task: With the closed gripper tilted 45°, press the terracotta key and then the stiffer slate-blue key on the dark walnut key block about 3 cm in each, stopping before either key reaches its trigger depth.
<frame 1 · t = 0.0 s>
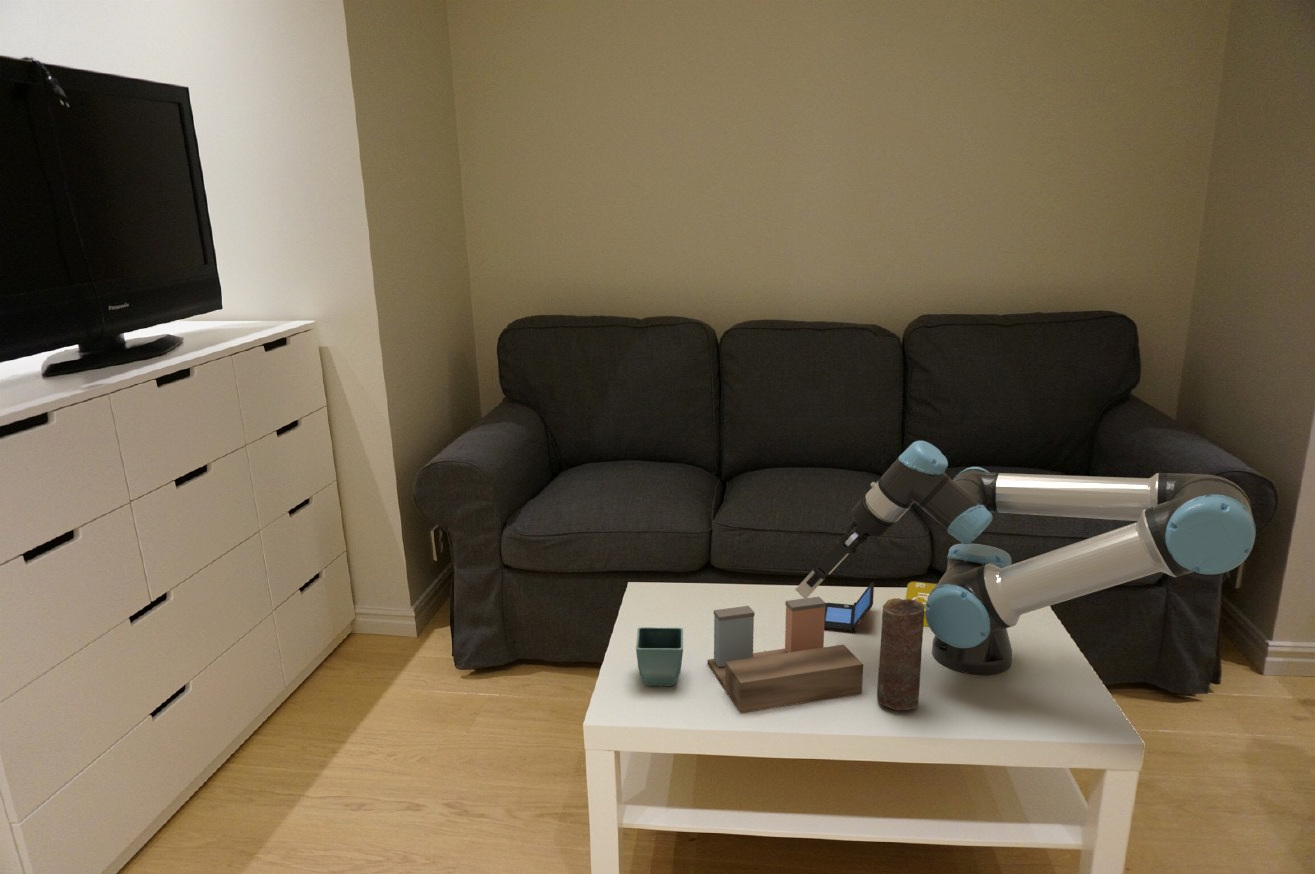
hand: (813, 581, 182), 15 cm above the table, tool tilted 35°, fingers open, 13 cm apart
element tile: (940, 616, 203), on the table
candle: (897, 706, 167), on the table
key terracotta: (804, 626, 183), point 7 cm above the table, slide at 0.0 cm
key block: (781, 677, 176), on the table
flower pot: (660, 681, 176), on the table
key slate: (733, 636, 179), point 7 cm above the table, slide at 0.0 cm
handheld game console: (847, 622, 200), on the table
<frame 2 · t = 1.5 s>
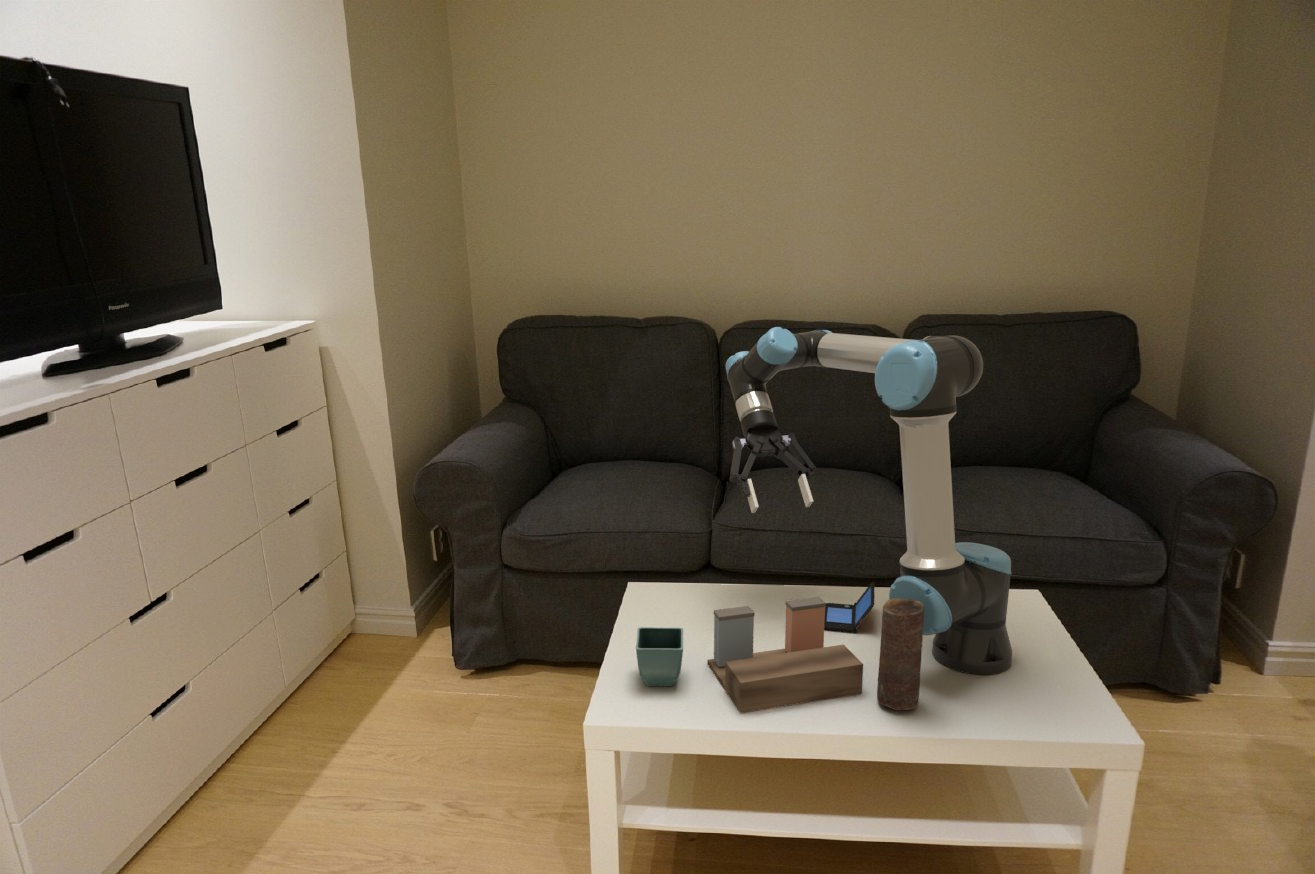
hand: (782, 507, 189), 27 cm above the table, tool tilted 45°, fingers open, 11 cm apart
nothing on the table moved.
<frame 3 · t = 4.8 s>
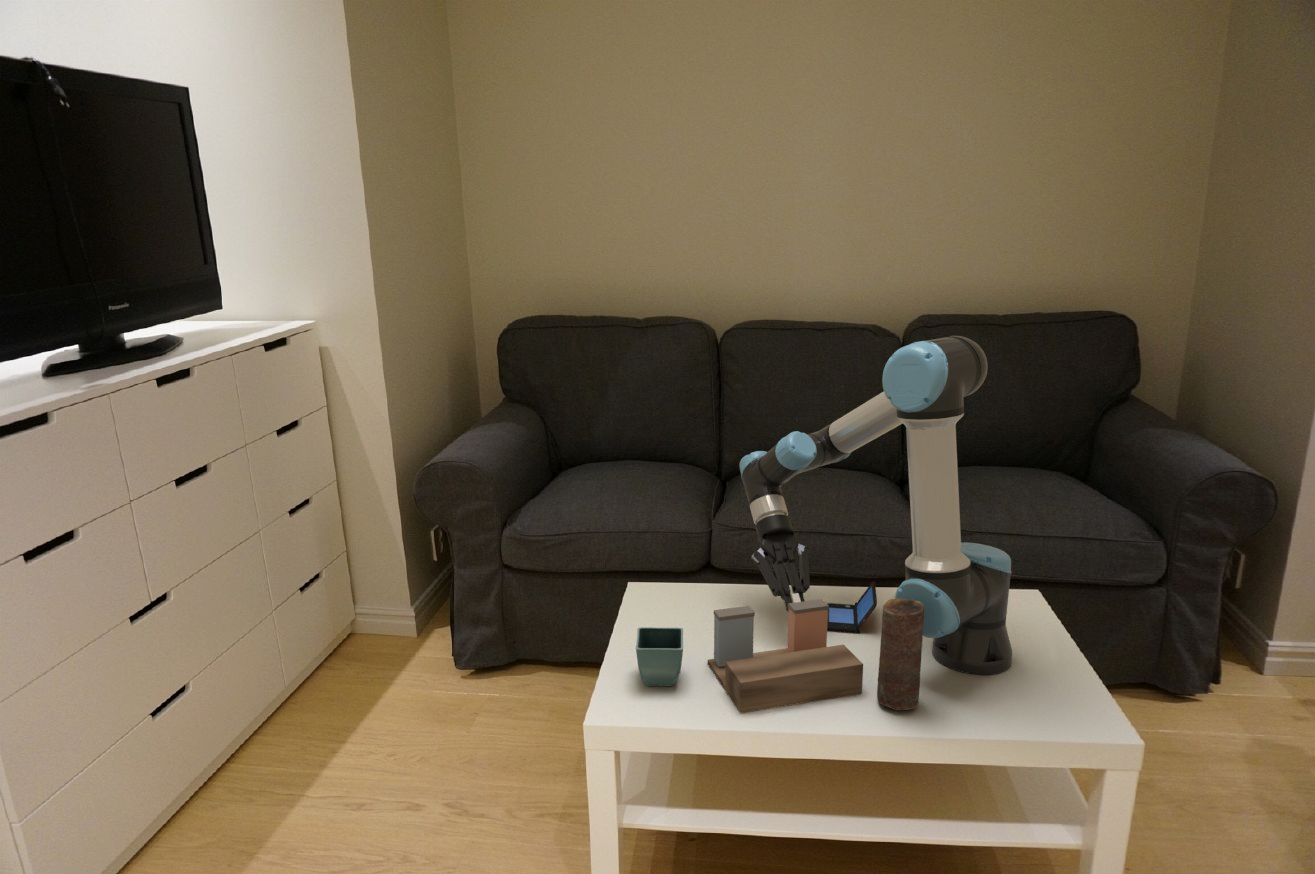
hand: (801, 626, 184), 6 cm above the table, tool tilted 45°, fingers closed
key terracotta: (807, 629, 181), point 7 cm above the table, slide at 1.3 cm, touching gripper
everything else where it was.
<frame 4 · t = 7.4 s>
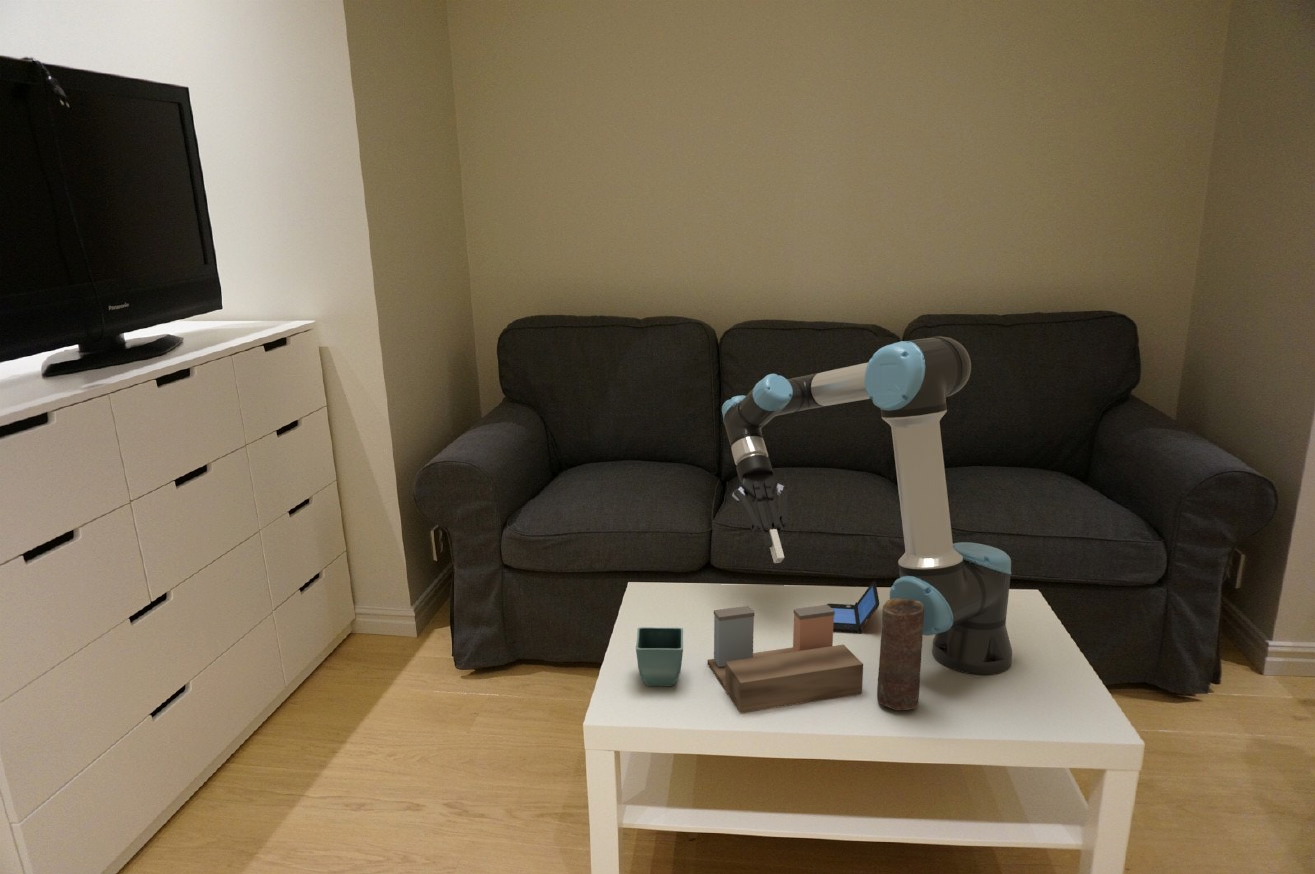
hand: (779, 560, 191), 16 cm above the table, tool tilted 45°, fingers closed
key terracotta: (813, 635, 179), point 7 cm above the table, slide at 3.9 cm
everything else where it was.
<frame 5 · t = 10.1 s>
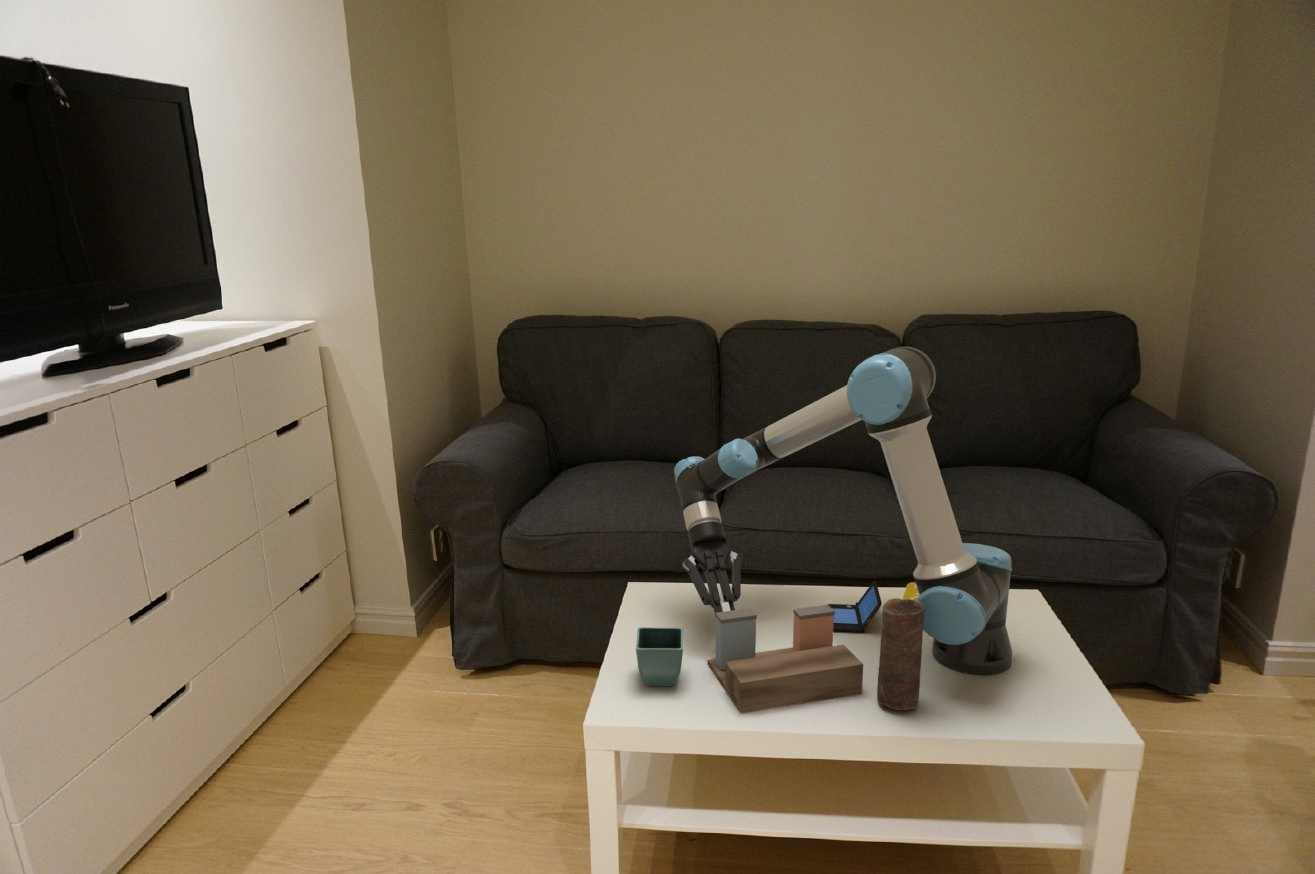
hand: (730, 635, 180), 6 cm above the table, tool tilted 45°, fingers closed
key slate: (735, 639, 178), point 7 cm above the table, slide at 1.2 cm, touching gripper
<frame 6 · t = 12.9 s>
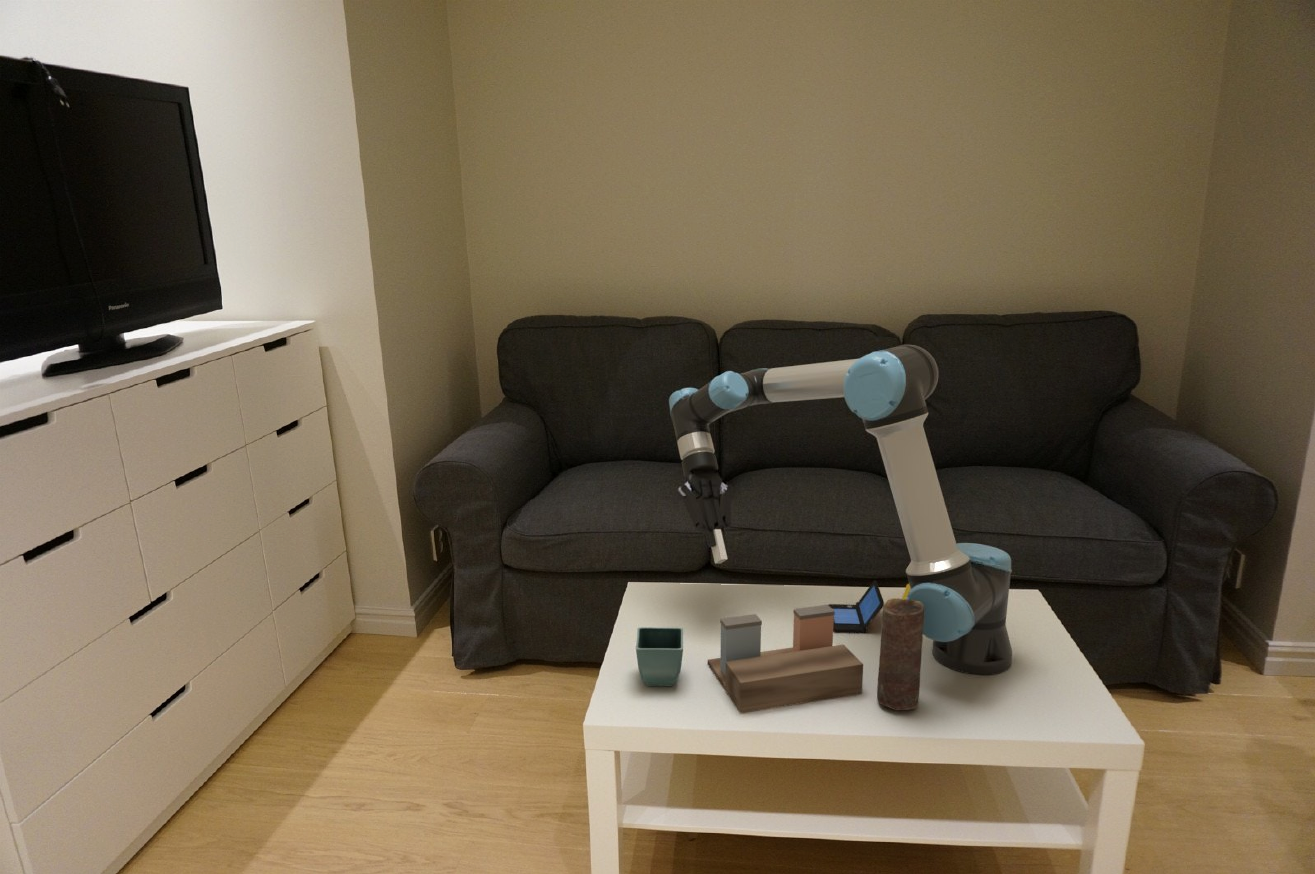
hand: (721, 561, 189), 17 cm above the table, tool tilted 40°, fingers closed
key slate: (740, 645, 175), point 7 cm above the table, slide at 3.8 cm
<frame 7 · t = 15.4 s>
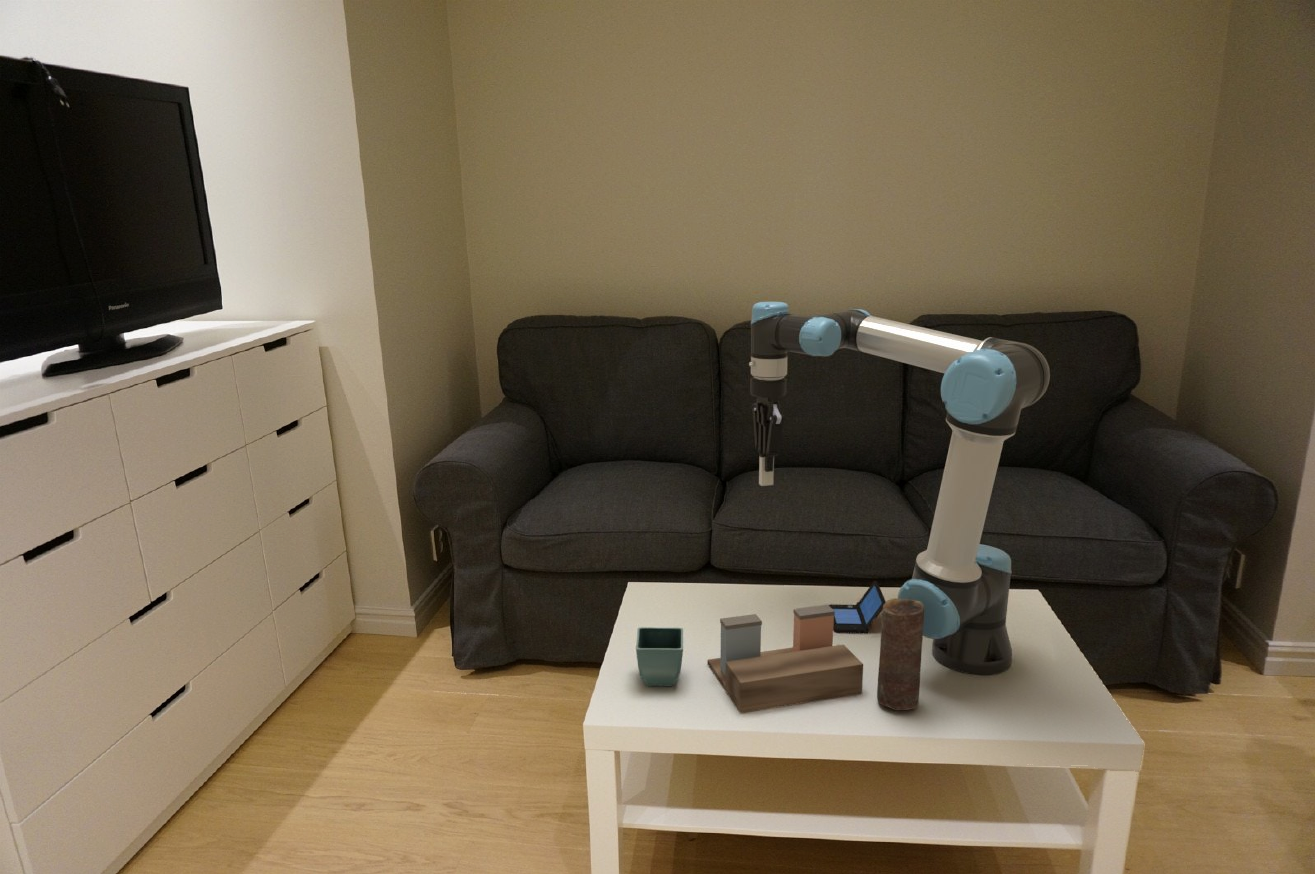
hand: (766, 484, 198), 29 cm above the table, tool pointing down, fingers closed
at the end: key terracotta slide at 3.9 cm; key slate slide at 3.8 cm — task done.
